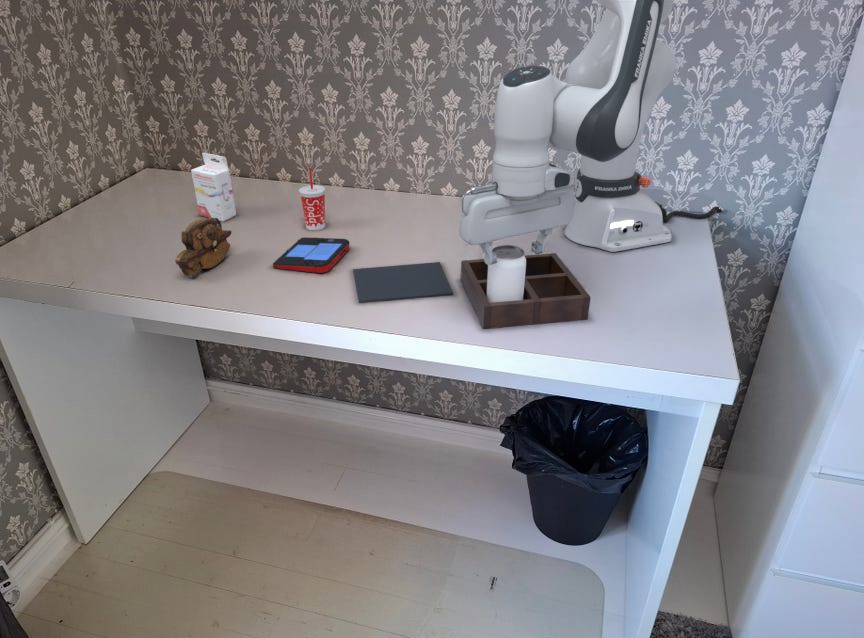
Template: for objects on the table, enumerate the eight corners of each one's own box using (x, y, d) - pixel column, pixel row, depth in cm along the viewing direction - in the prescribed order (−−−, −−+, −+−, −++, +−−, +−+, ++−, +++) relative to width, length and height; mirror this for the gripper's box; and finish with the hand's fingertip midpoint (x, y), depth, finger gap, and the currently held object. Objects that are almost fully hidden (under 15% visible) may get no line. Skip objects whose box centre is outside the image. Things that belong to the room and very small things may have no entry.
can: (521, 322, 119) (526, 260, 113) (484, 320, 121) (487, 258, 114) (522, 305, 125) (527, 244, 118) (487, 303, 126) (490, 243, 119)
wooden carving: (197, 284, 137) (187, 238, 131) (178, 282, 138) (167, 236, 133) (239, 252, 149) (231, 208, 144) (221, 250, 151) (213, 207, 145)
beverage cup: (298, 229, 159) (291, 170, 152) (309, 220, 164) (303, 162, 156) (321, 232, 157) (316, 173, 150) (332, 223, 162) (327, 164, 154)
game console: (301, 242, 153) (300, 232, 152) (353, 248, 149) (353, 238, 148) (271, 268, 142) (269, 258, 141) (326, 276, 138) (325, 266, 137)
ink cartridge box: (198, 216, 169) (186, 157, 161) (212, 209, 172) (202, 151, 164) (223, 222, 165) (213, 161, 157) (237, 215, 168) (227, 156, 160)
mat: (439, 264, 141) (439, 261, 141) (453, 295, 129) (453, 292, 129) (353, 271, 139) (353, 269, 139) (359, 303, 128) (358, 300, 127)
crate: (553, 273, 135) (555, 252, 133) (587, 319, 120) (590, 297, 117) (460, 281, 134) (461, 260, 131) (483, 329, 118) (484, 306, 116)
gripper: (472, 194, 103) (470, 277, 110) (583, 173, 109) (574, 252, 116) (452, 183, 108) (451, 263, 115) (560, 163, 114) (552, 240, 121)
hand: (514, 257), depth 116 cm, fingers open, 8 cm apart
